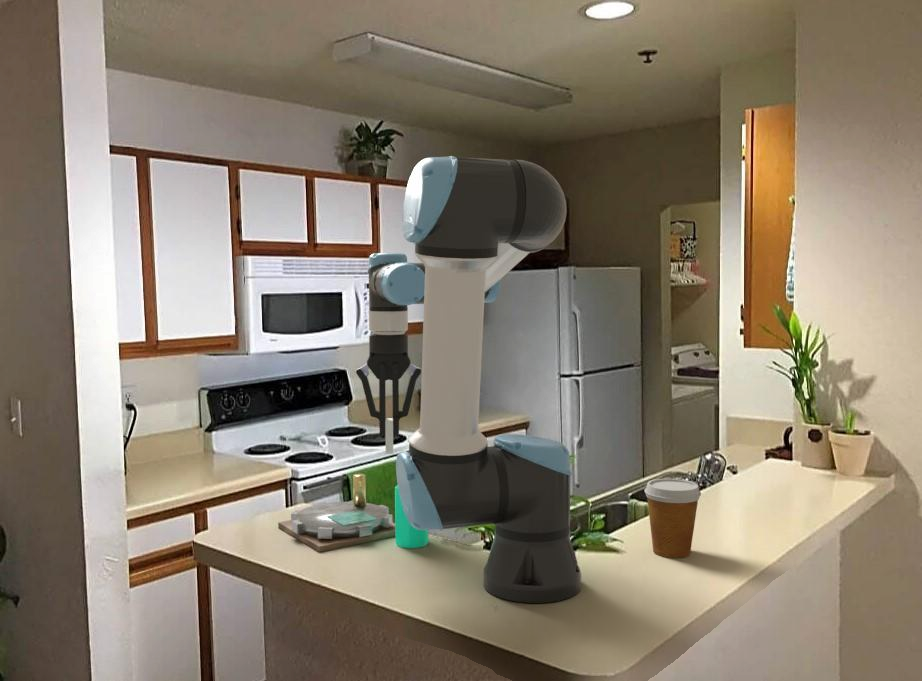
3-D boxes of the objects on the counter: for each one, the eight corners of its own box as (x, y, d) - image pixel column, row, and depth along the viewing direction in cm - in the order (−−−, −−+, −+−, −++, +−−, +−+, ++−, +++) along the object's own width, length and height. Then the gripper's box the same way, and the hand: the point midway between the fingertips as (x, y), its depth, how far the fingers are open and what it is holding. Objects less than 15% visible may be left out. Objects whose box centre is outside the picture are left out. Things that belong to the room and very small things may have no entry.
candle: (430, 538, 154) (430, 473, 153) (425, 548, 148) (425, 481, 147) (398, 537, 154) (397, 473, 153) (392, 547, 148) (391, 481, 147)
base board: (406, 533, 156) (406, 528, 156) (319, 552, 146) (319, 546, 146) (361, 512, 171) (361, 507, 171) (278, 527, 161) (278, 522, 160)
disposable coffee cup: (702, 563, 140) (703, 492, 139) (644, 559, 141) (644, 490, 141) (697, 545, 149) (698, 479, 148) (643, 542, 151) (644, 477, 150)
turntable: (411, 527, 156) (410, 485, 155) (317, 546, 145) (316, 501, 144) (362, 504, 172) (361, 466, 171) (274, 520, 161) (273, 479, 160)
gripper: (421, 331, 166) (421, 447, 168) (355, 331, 165) (356, 448, 167) (422, 333, 159) (423, 455, 161) (354, 334, 158) (355, 456, 160)
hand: (389, 451), depth 164 cm, fingers closed
